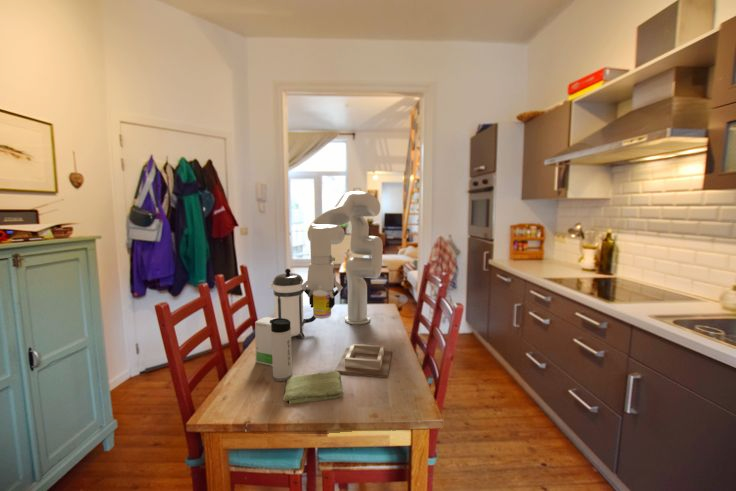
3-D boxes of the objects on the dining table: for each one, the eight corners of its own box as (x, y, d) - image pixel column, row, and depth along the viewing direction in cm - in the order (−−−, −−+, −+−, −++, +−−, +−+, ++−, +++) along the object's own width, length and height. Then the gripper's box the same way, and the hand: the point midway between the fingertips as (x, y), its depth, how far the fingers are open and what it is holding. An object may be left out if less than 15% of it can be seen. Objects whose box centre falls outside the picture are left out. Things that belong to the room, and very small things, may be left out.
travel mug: (270, 374, 111) (268, 317, 108) (290, 370, 113) (288, 315, 111) (273, 383, 105) (270, 324, 103) (293, 379, 108) (291, 321, 105)
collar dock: (346, 349, 129) (346, 340, 129) (391, 353, 126) (392, 343, 126) (335, 373, 111) (334, 362, 111) (387, 377, 109) (387, 366, 108)
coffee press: (292, 346, 133) (290, 274, 129) (264, 338, 141) (261, 270, 137) (319, 331, 148) (317, 266, 144) (292, 325, 156) (290, 263, 152)
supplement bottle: (327, 319, 119) (327, 285, 117) (310, 318, 120) (309, 284, 118) (333, 313, 125) (332, 281, 124) (317, 312, 127) (316, 280, 125)
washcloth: (286, 382, 106) (286, 373, 106) (340, 377, 110) (340, 368, 109) (283, 407, 94) (283, 396, 93) (344, 400, 97) (344, 390, 96)
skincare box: (255, 362, 119) (253, 321, 117) (266, 354, 125) (265, 315, 123) (274, 366, 116) (272, 324, 114) (285, 358, 122) (283, 318, 120)
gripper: (346, 259, 122) (346, 304, 125) (302, 257, 125) (303, 302, 127) (341, 262, 115) (342, 311, 117) (294, 261, 117) (296, 309, 120)
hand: (322, 306), depth 122 cm, fingers closed on supplement bottle, 6 cm apart
